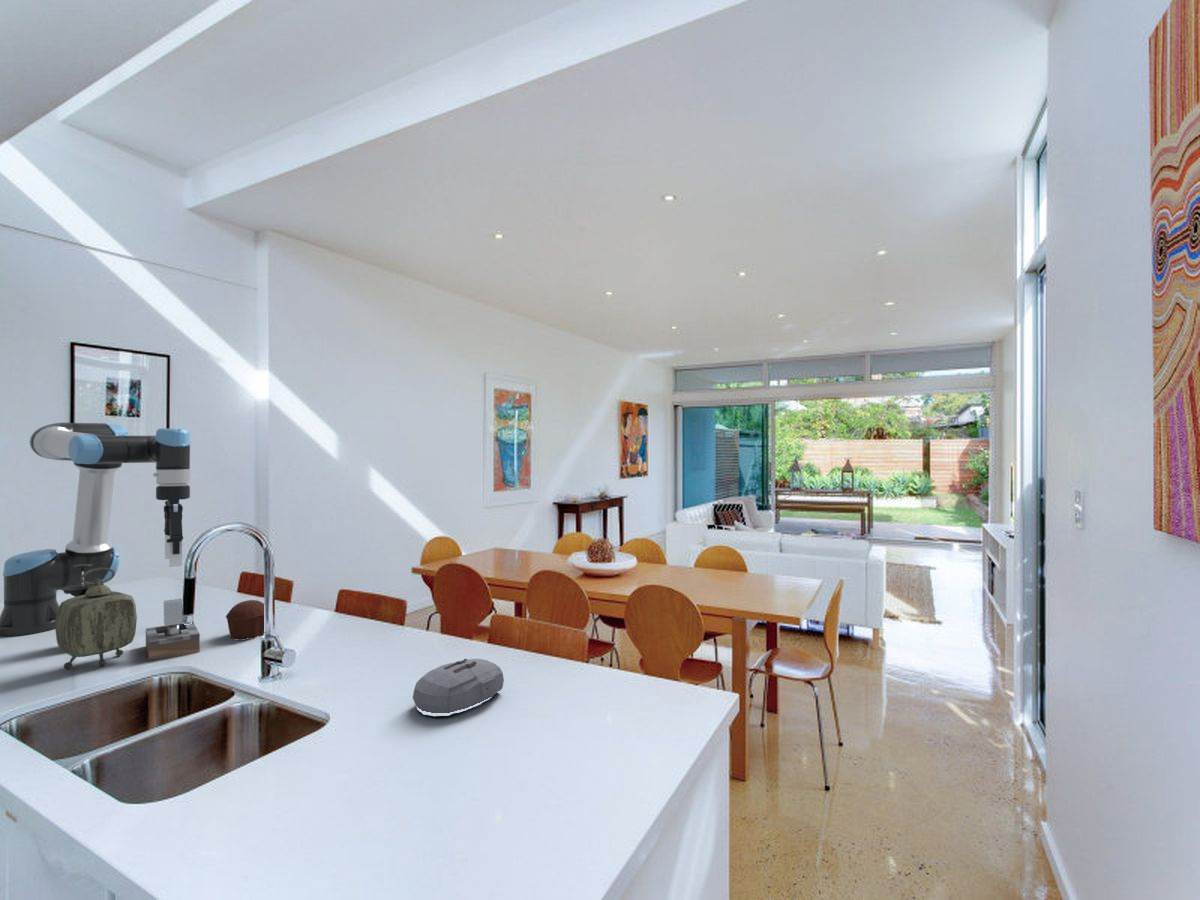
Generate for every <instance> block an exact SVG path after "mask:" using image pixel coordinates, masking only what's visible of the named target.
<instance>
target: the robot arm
mask: <svg viewBox="0 0 1200 900" xmlns="http://www.w3.org/2000/svg"><path fill="white" fill-rule="evenodd" d="M155 432H156V433H155V435H130V434H129V431H128V430H127V429H126V428H125V426H123V425H121V424H116V423H114V424H113V423H106V422H105V423H104V422H103V423H102V422H101V423H99V422H97V423H96V422H55V423H50V424H47V425H43V426H41V427H39V428H38V429H36V430H35V431H34V432H33V433H32V434H31V436H30V439H29V446H30V449H31V451H33V452H34V453H35V454H36V455H37V456H39V457H42V458H43V459H47V460H52V461H54V460H55V461H69V462H70V461H72V462H73V466H75V467H76V468H77V469H79V474H78V485H77V494H76V504H75V505H76V506H75V514H74V523H73V525H74V526H73V535H72V540H71V541H69V542H68V543H67V544H66V545H65V550H64V552H58V551H57V550H56V549H53V548H47V549H40V550H39V549H38V550H33V551H28V552H23V553H19V554H18V553H17V554H16V555H13V556H11V557H9V558H7V559H6V560H5V562H4V563H3V564H4V565H3V573H2V576H3V609H2V611H1V613H0V637H12V636H13V637H14V636H24V635H25V636H26V635H30V634H32V635H33V634H37V633H43V632H45V631H46V632H47V631H50V630H53V629H55V627H56V616H57V611H58V608H59V606H60V604H59V603H58V601H57V592H58V591H60V590H61V588H63V587H66V586H70V585H75V584H81V583H82V581H81V577H82V572H81V567H80V568H74V567H73V566H75V565H79V564H92V566H88V567H85V571H84V573H85V572H86V571H88V570H90V569H94V568H100V567H106V568H110V569H112V570H113V571H114V573H115V575H114V577H115V576H116V574H117V572H118V570H119V565H120V558H119V557H120V554H119V550H118V549H117V548H116V547H115V546H113V545H114V544H113V543H112V542H111V541H110V540H108V538H109V527H110V518H111V509H112V502H113V501H112V500H113V492H114V483H115V482H114V480H115V475H116V473H115V472H116V471H118V470H119V469H121V468H122V465H123V464H139V463H140V464H141V463H144V464H145V463H149V464H150V463H151V464H152V463H153V464H155V469H156V472H154V473H153V475H152V476H153V477H156V479H155V481H156V483H155V484H157V486H156V488H155V500H158V501H164V506H163V514H164V517H163V518H164V530H163V531H164V560H169V561H168V562H169V564H168V565H169V566H168V568H174V567H182V566H183V540H184V536H183V510H184V507H183V505H182V503H180V500H188V499H190V497H191V486H190V485H188V484H190V483H191V468H190V467H191V465H190V463H191V460H190V459H191V437H190V431H189V430H188V429H186V428H158V429H157V430H156V431H155ZM110 577H112V572H110V571H108V570H97V571H93V572H90V573H88V574H86V575H85V576H84V581H86V582H95V580H96V579H98V578H99V579H101V581H104V580H106V579H109V578H110ZM61 591H62V590H61Z"/></svg>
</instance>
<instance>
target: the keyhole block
mask: <svg viewBox="0 0 1200 900" xmlns="http://www.w3.org/2000/svg"><path fill="white" fill-rule="evenodd" d="M191 621H192V624H190V625H184V624H183V623H184V622H183V623H182V624H179V635H174V636H168V630H167V626H165V625H160V626H154V627H148V628H145V648H146V649H145V650H146V653H147V657H148V661H149V662H153V661H157V660H158V661H159V660H164V659H168V658H174V657H180V656H185V655H190V654H197V653H200V651H201V650H200V649H201V646H200V645H201V643H200V640H201V639H200V636H201V635H200V634H201V633H200V632H199V630H198V628H197V626H196V625H195V622H194V621H193V620H191Z"/></svg>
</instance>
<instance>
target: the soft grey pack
mask: <svg viewBox="0 0 1200 900" xmlns="http://www.w3.org/2000/svg"><path fill="white" fill-rule="evenodd" d="M504 682H505V679H504V674H503V670H502V669H501V666H499V665H497V664H496V663H494V662H491V661H489V660H487V659H482V658H469V659H468V658H464V659H462V660H458V661H455V662H450V663H447V664H446V663H445V664H442V665H440V666H438V667H435V668H434V669H432V670H429V671H428V672H426V673H425V674H424V675H423V676H421V677H420V678H419V679H418V681H417V682H416V683H415V686H414V690H413V694H412V699H413V702H414V704H415V707H416V706H417V707H418V708H419V709H421V710H422V711H426V712H431V713H450V712H454V711H457V710H461V709H465V708H468V707H470V706H473V705H475V704H477V703H480V702H482V701H484V700H486V699H488V698H490V697H492V696H494V695H495V694H496V693H497V692H498V691H500V690H503V687H504ZM500 692H501V691H500ZM496 695H497V694H496ZM496 695H495V696H496ZM495 696H494V697H495Z"/></svg>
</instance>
